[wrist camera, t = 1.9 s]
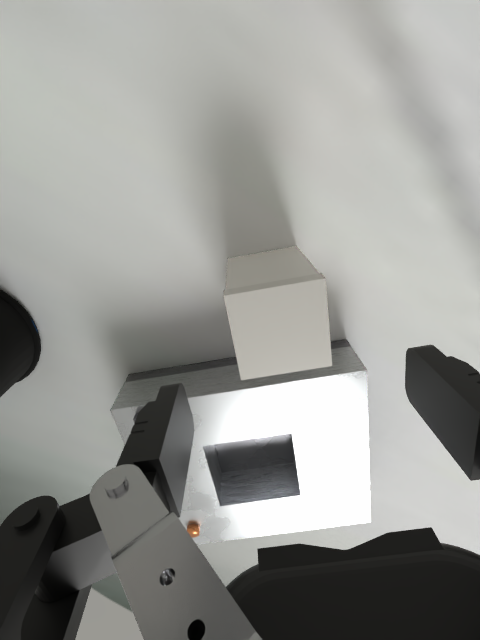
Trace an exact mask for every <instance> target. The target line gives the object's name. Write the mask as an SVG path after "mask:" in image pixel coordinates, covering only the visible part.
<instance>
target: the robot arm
mask: <svg viewBox="0 0 480 640" xmlns="http://www.w3.org/2000/svg"><path fill="white" fill-rule="evenodd" d="M405 389H406V393H407V397H408V399H409V401H410V403H411V404H412V405H413V407H414V408H415V409H416V411H417V412H418V413H419V414H420V416H421V417H422V418H423V420H424V421H425V422H426V424H427V425H428V426H429V427H430V429H431V430H432V431H433V433H434V434H435V435H436V436H437V438H438V439H439V440H440V442H441V443H442V444H443V445H444V447H445V448H446V449H447V451H448V452H449V453H450V454H451V456H452V457H453V458H454V460H455V461H456V462H457V463H458V465H459V466H460V467H461V469H462V470H463V471H464V472H465V474H466V475H467V476H468V478H469V479H470V480H479V479H480V374H479V372H478V371H477V370H475V369H474V368H473V367H472V366H470V365H469V364H468V363H466V362H463V361H461V360H459V359H457V358H454V357H452V356H450V357H446V356H445V355H444V354H443V353H442V352H441V351H439V350H438V349H437V348H436V347H435V346H433V345H426V346H420V347H413V348H409V349H408V350H407V352H406V373H405ZM130 433H131V434H130V435H129V437H128V439H127V442H126V444H125V446H124V449H123V451H122V454H121V456H120V458H119V461H118V463H117V466H116V467H115V468H112V469H111V470H109V471H107V472H106V473H104V474H103V475H102V476H101V477H100V478H99V479H98V480H97V481H96V482H95V484H94V485H93V487H92V489H91V492H90V494H88V495H86V496H84V497H81V498H79V499H76V500H74V501H71V502H69V503H66V504H64V505H61V506H59V504H58V503H57V501H56V499H55V498H53V497H51V496H40V497H36V498H33V499H31V500H29V501H27V502H25V503H24V504H22V505H20V506H19V507H18V508H16V509H15V510H14V511H13V512H12V513H11V514H10V515H9V516H8V517H7V518H6V519H5V520H4V521H3V523H2V524H1V526H0V640H75V638H76V635H77V631H78V628H79V625H80V622H81V618H82V615H83V612H84V608H85V605H86V602H87V599H88V595H89V592H90V589H91V586H92V584H93V583H95V582H97V581H99V580H101V579H103V578H106V577H108V576H110V575H112V574H114V573H116V572H117V574H118V576H119V579H120V581H121V584H122V586H123V589H124V591H125V594H126V596H127V599H128V601H129V604H130V606H131V609H132V611H133V614H134V616H135V619H136V621H137V624H138V626H139V629H140V631H141V634H142V636H143V639H144V640H480V555H478V554H476V553H474V552H471V551H469V550H466V549H463V548H460V547H457V546H453V545H449V544H444V543H440V542H439V540H438V538H437V536H436V535H435V533H434V531H433V529H432V528H422V529H414V530H406V531H398V532H390V533H386V534H384V535H381V536H379V537H377V538H375V539H372V540H370V541H368V542H365V543H363V544H361V545H358V546H356V547H354V548H351V549H348V550H340V549H333V548H326V547H319V546H312V545H305V544H293V545H285V546H277V547H269V548H261V549H258V564H257V565H255V566H253V567H251V568H249V569H248V570H246V571H244V572H243V573H241V574H240V575H239V576H238V577H236V578H235V579H234V580H233V581H232V582H231V583H230V584H229V585H228V586H227V587H225V586H224V584H223V583H222V581H221V580H220V578H219V577H218V575H217V574H216V572H215V571H214V570H213V568H212V567H211V565H210V564H209V562H208V561H207V559H206V558H205V556H204V555H203V553H202V552H201V551H200V549H199V548H198V546H197V545H196V543H195V542H194V540H193V539H192V537H191V536H190V534H189V533H188V532H187V530H186V529H185V527H184V526H183V524H182V523H181V521H180V520H179V517H180V516H181V510H182V504H183V498H184V492H185V486H186V480H187V474H188V468H189V461H190V455H191V449H192V443H193V437H194V421H193V416H192V412H191V409H190V405H189V402H188V398H187V395H186V391H185V388H184V386H183V384H182V383H178V384H171V385H165V386H161V387H160V390H159V392H158V395H157V398H156V401H151V402H148V403H147V404H146V405H145V406H144V407H143V408H142V409H141V410H140V411H139V413H138V415H137V418H136V420H135V422H134V425H133V427H132V430H131V432H130Z"/></svg>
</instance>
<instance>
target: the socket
mask: <svg viewBox="0 0 480 640" xmlns="http://www.w3.org/2000/svg"><path fill="white" fill-rule="evenodd" d="M331 355H332V366H329V367H323V368H316V369H310V370H304V371H297V372H291V373H285V374H278V375H272V376H266V377H259V378H253V379H247V380H241V377H240V373H239V368H238V363H237V358H236V357H234V358H228V359H221V360H215V361H209V362H203V363H197V364H191V365H184V366H178V367H172V368H166V369H160V370H153V371H147V372H141V373H135V374H129V375H128V377H127V379H126V381H125V383H124V385H123V387H122V388H121V390H120V392H119V394H118V396H117V398H116V400H115V402H114V404H113V406H112V408H111V410H110V411H111V413H112V416H113V418H114V420H115V423H116V425H117V427H118V430H119V432H120V434H121V437H122V439H123V442H124V444H126V442H127V439H128V437H129V435H130V434H131V433H130V432H131V430H132V427H133V425H134V422H135V420H136V418H137V415H138V413H139V411H140V410H141V409H142V408H143V407H144V406H145V405H146V404H147V403H148V402H151V401H156V398H157V395H158V392H159V390H160V387H161V386H165V385H171V384H178V383H182V384H183V386H184V388H185V391H186V395H187V398H188V402H189V405H190V409H191V412H192V416H193V421H194V437H193V443H192V449H191V455H190V461H189V468H188V474H187V480H186V486H185V492H184V498H183V504H182V510H181V516H180V517H179V520H180V521H181V523H182V524H183V526H184V527H185V529H186V530H187V532H188V533H189V534H190V536H191V537H192V539H193V540H194V542H195V543H196V545H198V544H206V543H213V542H221V541H229V540H236V539H244V538H252V537H260V536H267V535H275V534H283V533H290V532H298V531H306V530H314V529H321V528H329V527H337V526H344V525H352V524H360V523H367V522H371V515H370V471H369V426H368V381H367V369H366V367H365V366H364V365H363V363H362V362H361V360H360V359H359V357H358V356H357V354H356V353H355V351H354V350H353V348H352V347H351V345H350V344H349V342H348V341H347V339H345V340H339V341H333V342H331Z"/></svg>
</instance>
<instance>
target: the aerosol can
mask: <svg viewBox="0 0 480 640" xmlns="http://www.w3.org/2000/svg"><path fill="white" fill-rule="evenodd" d="M40 352H41V342H40V337H39V333H38V330H37V328H36V326H35V324H34V322H33V320H32V318H31V317H30V316H29V314H28V313H27V312H26V310H25V309H24V308H23V307H22V306H21V305H20V304H19V303H18V302H17V301H16V300H15V299H13V298H12V297H11V296H9V295H8V294H6V293H5V292H3V291H2V290H0V397H1V396H2V395H3V394H4V393H5V392H6V391H7V390H8V389H9V388H10V387H11V386H12V385H13V384H15V383H16V382H19V381H21V380H23V379H24V378H25V377H27V376H28V375H29V374H30V373H31V372H32V371H33V370H34V369H35V367H36V365H37V363H38V361H39V357H40Z"/></svg>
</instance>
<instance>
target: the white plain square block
mask: <svg viewBox="0 0 480 640" xmlns="http://www.w3.org/2000/svg"><path fill="white" fill-rule="evenodd" d="M223 296H224V301H225V306H226V311H227V315H228V320H229V325H230V330H231V335H232V339H233V344H234V349H235V354H236V358H237V363H238V368H239V373H240V377H241V380H247V379H253V378H259V377H266V376H272V375H278V374H285V373H291V372H297V371H304V370H310V369H316V368H323V367H329V366H332V355H331V341H330V328H329V314H328V300H327V287H326V278H325V277H324V275H323V274H322V273H319V272H318V271H317V270H316V268H315V267H314V266H313V265H312V264H311V262H310V261H309V260H308V259H307V258H306V257H305V255H304V254H303V253H302V252H301V251H300V249H299V248H298V247H297V246H293V247H287V248H282V249H276V250H270V251H265V252H259V253H254V254H248V255H243V256H237V257H231V258H228V260H227V273H226V286H225V290H224V295H223Z"/></svg>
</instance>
